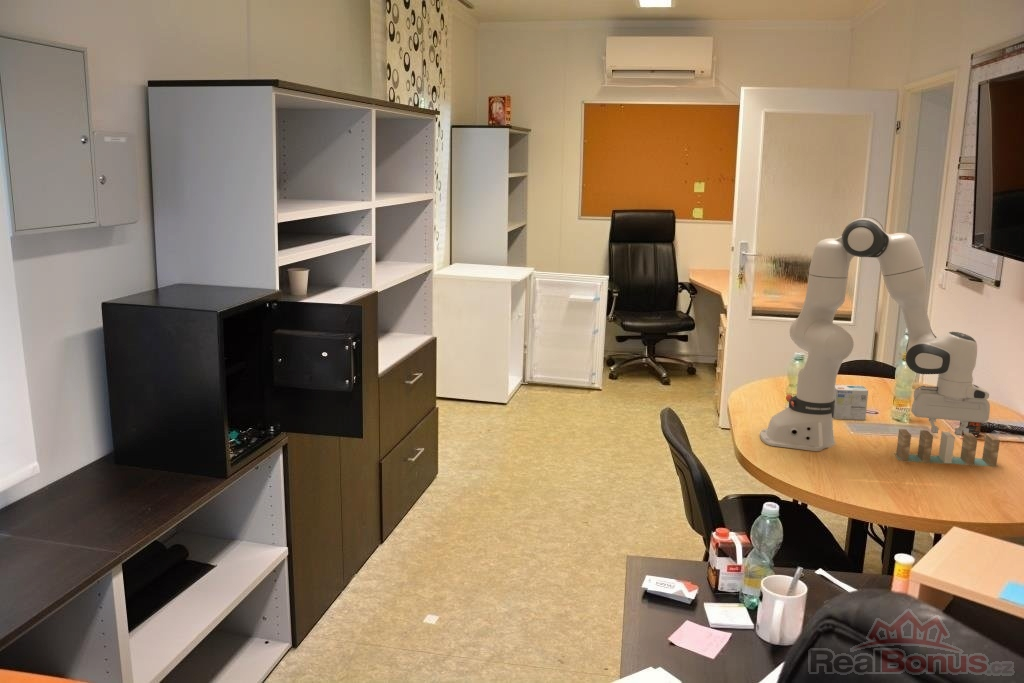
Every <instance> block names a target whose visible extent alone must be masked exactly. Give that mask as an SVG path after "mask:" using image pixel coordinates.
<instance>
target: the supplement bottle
mask: <svg viewBox="0 0 1024 683" xmlns="http://www.w3.org/2000/svg"><path fill="white" fill-rule="evenodd" d="M961 424H962V423H961V422H960V421H959V426H960V425H961ZM981 426H982V423H979V422H968V425H967V426H966V428H965V429H964V430H963V431H962V434H964V433H972V434H973V435H974V436H975V435H979V436H980V434H981V429H982V428H981Z"/></svg>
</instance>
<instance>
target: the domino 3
mask: <svg viewBox="0 0 1024 683" xmlns="http://www.w3.org/2000/svg"><path fill="white" fill-rule="evenodd" d="M940 434H941V435H940V443H939V450H938V455H937V456H938V457H939V458H940V459H941V460H942V461H943V462H944V463H943V464H946V463H952V457H954V455H953V454H954V448H955V440H956V437H955V436H954V435H953V434H952V433H951V432H950V431H943V430H942V431H941V433H940Z"/></svg>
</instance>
